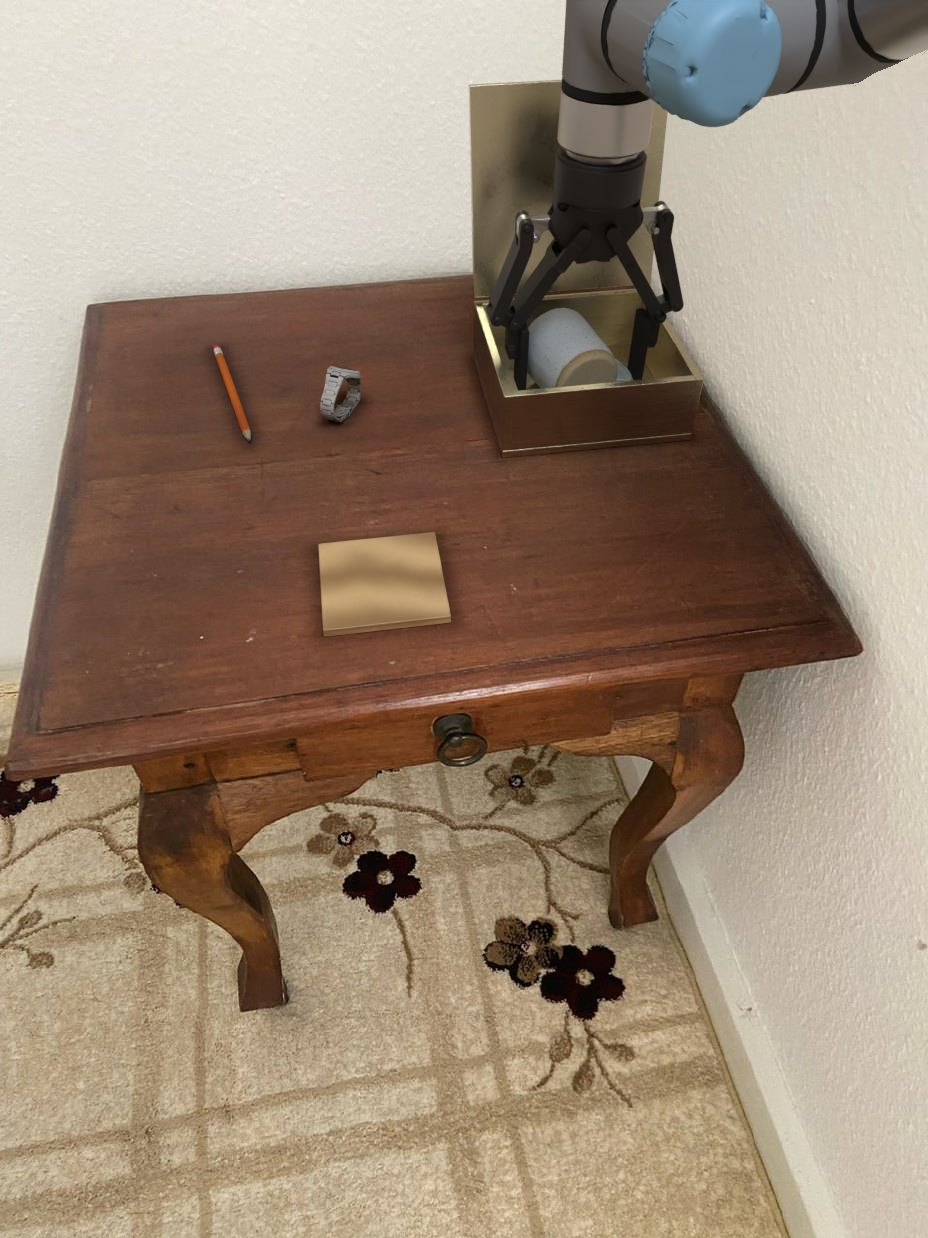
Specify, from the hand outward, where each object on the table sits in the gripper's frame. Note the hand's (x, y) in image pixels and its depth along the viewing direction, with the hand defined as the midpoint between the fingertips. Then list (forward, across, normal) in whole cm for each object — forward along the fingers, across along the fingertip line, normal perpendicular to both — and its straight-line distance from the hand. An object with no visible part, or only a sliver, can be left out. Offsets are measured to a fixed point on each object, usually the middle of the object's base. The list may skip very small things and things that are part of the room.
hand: (577, 379), depth 88 cm
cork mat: (+2, +22, +24) cm, 33 cm away
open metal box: (+2, 0, 0) cm, 2 cm away
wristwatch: (+2, +24, -1) cm, 24 cm away
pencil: (+2, +35, -6) cm, 35 cm away
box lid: (-14, 0, -10) cm, 18 cm away
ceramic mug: (+1, 0, 0) cm, 1 cm away
